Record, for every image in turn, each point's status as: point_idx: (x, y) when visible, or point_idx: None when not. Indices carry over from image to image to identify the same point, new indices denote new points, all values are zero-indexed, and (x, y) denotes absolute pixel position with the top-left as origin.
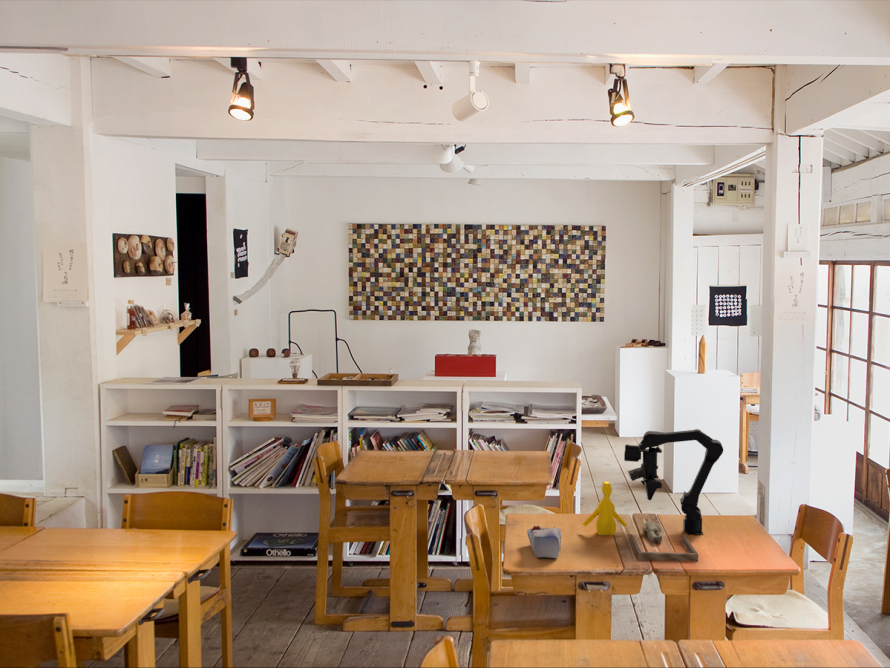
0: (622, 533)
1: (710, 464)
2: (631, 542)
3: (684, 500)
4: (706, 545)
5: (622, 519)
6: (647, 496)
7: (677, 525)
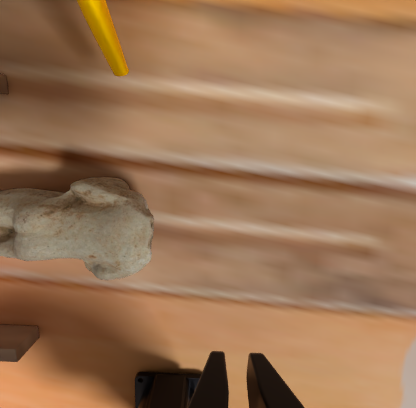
0: None
1: None
2: None
3: None
4: (8, 401)
5: (94, 20)
6: (258, 384)
7: None
